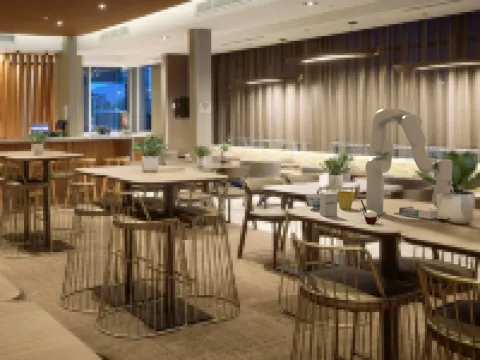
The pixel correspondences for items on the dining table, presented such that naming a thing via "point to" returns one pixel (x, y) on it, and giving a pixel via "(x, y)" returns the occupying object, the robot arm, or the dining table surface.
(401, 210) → the tongs fixed arm
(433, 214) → the lock clasp
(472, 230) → the dining table surface
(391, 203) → the dining table surface
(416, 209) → the tongs moving arm
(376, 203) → the robot arm
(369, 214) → the cocoa
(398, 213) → the mat
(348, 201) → the plant pot
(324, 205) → the supplement box
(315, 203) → the chinaware
